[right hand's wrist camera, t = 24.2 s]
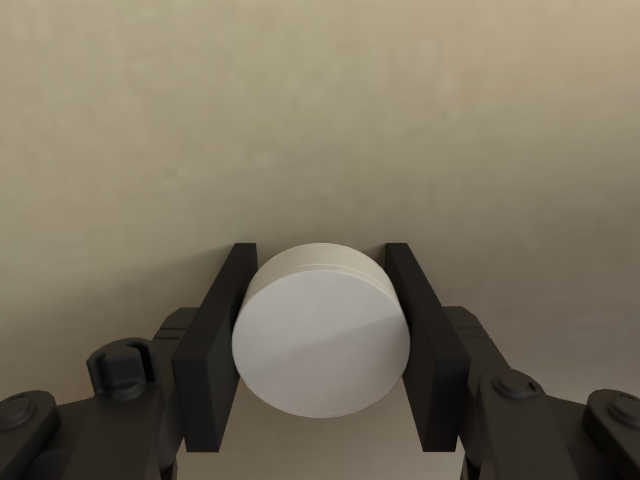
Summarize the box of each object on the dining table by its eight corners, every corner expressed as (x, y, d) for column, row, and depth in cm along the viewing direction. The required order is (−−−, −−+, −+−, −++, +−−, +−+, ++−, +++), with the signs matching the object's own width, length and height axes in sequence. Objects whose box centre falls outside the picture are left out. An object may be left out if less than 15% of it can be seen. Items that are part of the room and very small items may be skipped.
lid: (242, 369, 13) (230, 413, 11) (245, 235, 11) (231, 262, 9) (385, 379, 13) (395, 423, 11) (410, 248, 11) (426, 277, 10)
